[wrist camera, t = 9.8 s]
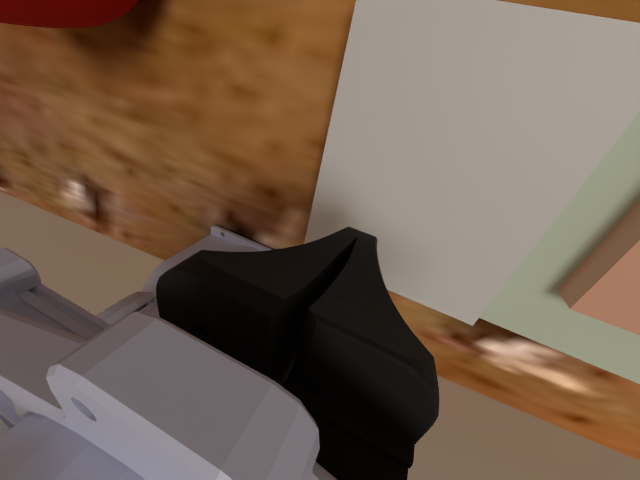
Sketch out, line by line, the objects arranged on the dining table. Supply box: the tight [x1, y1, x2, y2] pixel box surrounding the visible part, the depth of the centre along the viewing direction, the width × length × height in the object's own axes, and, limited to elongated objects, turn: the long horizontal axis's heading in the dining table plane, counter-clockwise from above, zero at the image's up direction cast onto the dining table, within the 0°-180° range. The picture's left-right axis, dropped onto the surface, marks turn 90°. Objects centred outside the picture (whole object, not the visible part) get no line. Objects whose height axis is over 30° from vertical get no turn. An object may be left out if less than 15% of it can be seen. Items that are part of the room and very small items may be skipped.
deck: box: [304, 0, 640, 326], centre depth 16 cm, size 13×16×3 cm
